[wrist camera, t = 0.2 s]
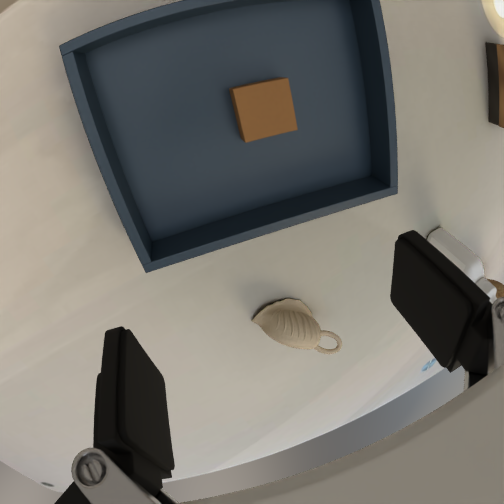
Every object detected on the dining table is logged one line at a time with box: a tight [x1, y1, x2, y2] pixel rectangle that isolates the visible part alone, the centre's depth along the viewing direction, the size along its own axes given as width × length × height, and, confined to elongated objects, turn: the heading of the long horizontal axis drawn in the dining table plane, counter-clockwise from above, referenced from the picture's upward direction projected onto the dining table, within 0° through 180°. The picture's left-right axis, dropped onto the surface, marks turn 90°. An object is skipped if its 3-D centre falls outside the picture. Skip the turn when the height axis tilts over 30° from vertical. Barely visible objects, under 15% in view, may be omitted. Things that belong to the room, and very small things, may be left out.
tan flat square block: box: [229, 77, 298, 143], centre depth 21 cm, size 4×4×2 cm
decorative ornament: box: [252, 298, 342, 354], centre depth 32 cm, size 4×8×5 cm, turn 60°
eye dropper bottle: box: [427, 228, 497, 304], centre depth 30 cm, size 4×6×12 cm
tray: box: [59, 0, 398, 273], centre depth 21 cm, size 18×22×4 cm
